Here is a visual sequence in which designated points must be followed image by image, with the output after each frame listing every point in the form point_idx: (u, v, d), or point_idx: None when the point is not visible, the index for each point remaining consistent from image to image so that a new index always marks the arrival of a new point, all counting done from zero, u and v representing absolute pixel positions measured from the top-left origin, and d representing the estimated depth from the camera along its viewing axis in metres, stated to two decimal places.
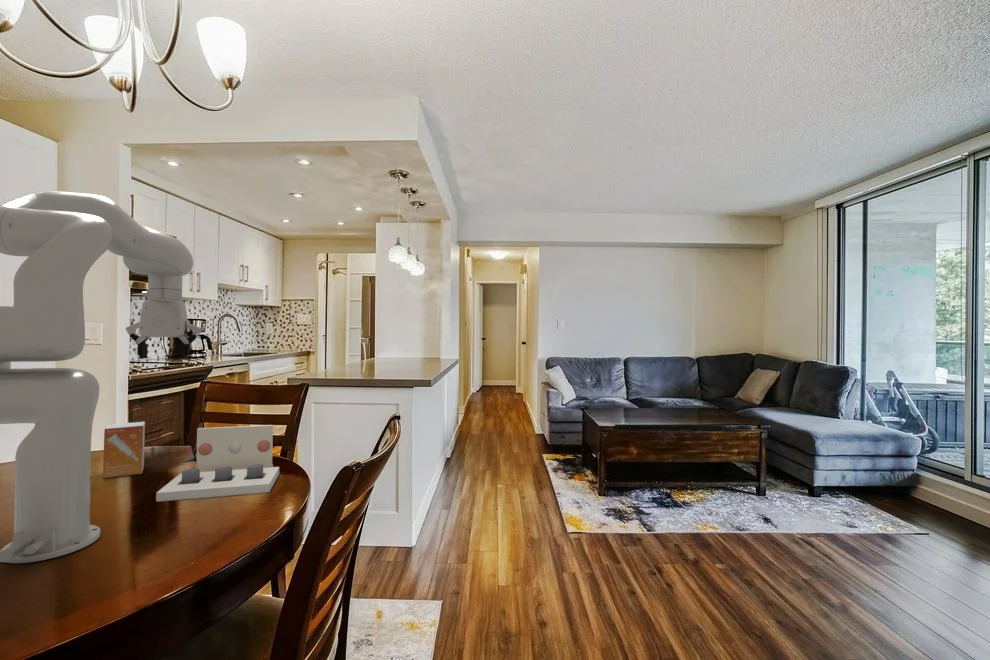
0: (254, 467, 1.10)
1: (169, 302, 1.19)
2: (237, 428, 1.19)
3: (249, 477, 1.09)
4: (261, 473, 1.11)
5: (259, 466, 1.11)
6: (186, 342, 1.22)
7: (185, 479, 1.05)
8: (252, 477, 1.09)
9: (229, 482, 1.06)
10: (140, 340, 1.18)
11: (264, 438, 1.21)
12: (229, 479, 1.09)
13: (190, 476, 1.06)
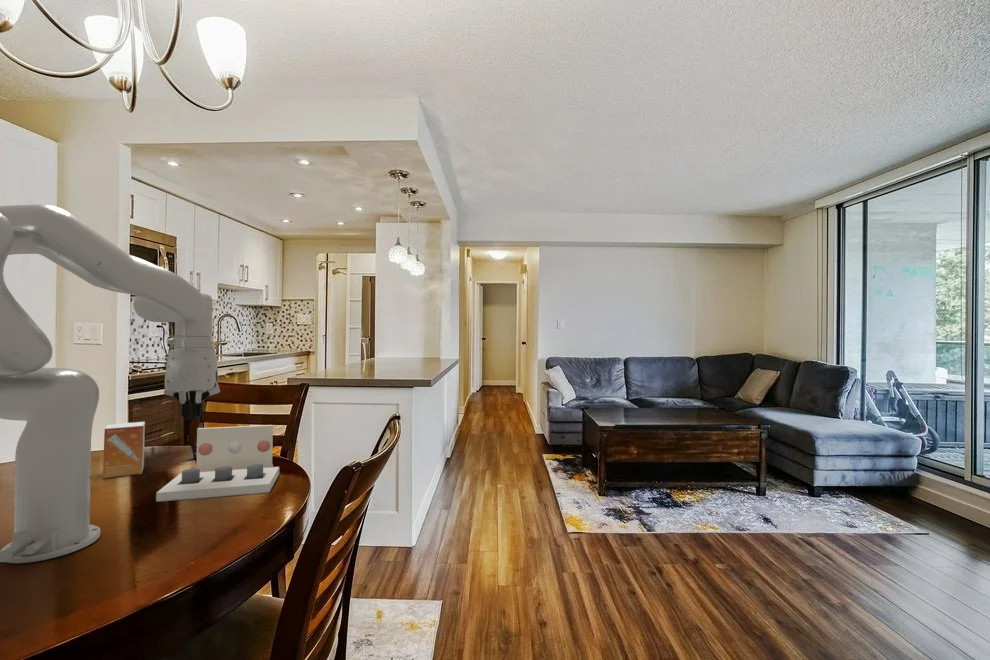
0: (254, 467, 1.10)
1: (198, 351, 1.05)
2: (237, 428, 1.19)
3: (249, 477, 1.09)
4: (261, 473, 1.11)
5: (259, 466, 1.11)
6: (198, 401, 1.06)
7: (185, 479, 1.05)
8: (252, 477, 1.09)
9: (229, 482, 1.06)
10: (183, 398, 1.05)
11: (264, 438, 1.21)
12: (229, 479, 1.09)
13: (190, 476, 1.06)
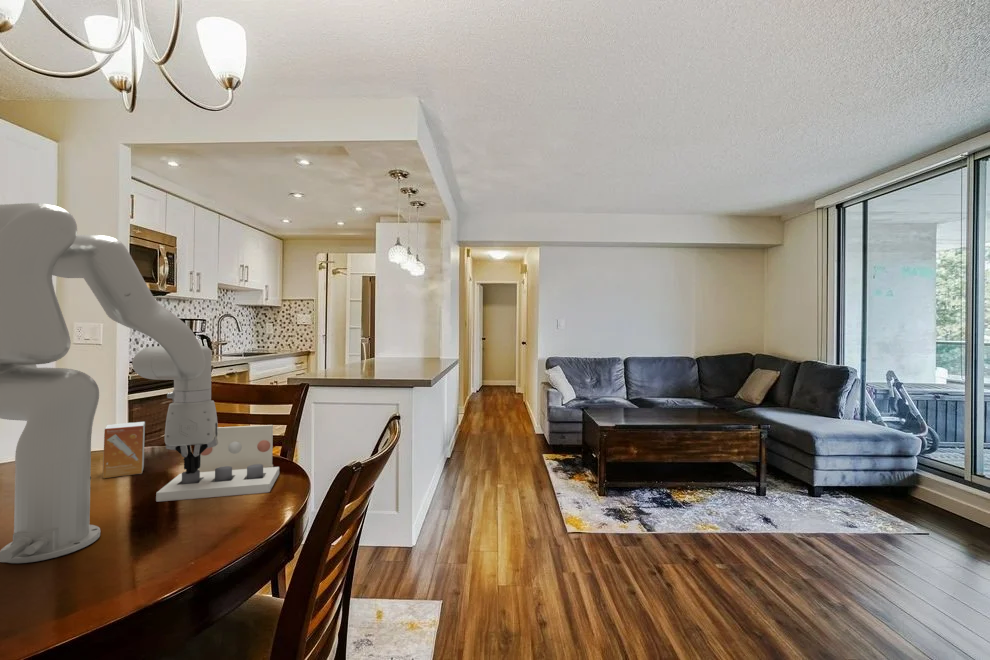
0: (254, 467, 1.10)
1: (198, 405, 1.05)
2: (237, 428, 1.19)
3: (249, 477, 1.09)
4: (261, 473, 1.11)
5: (259, 466, 1.11)
6: (195, 454, 1.07)
7: (185, 481, 1.05)
8: (252, 477, 1.09)
9: (229, 482, 1.06)
10: (185, 452, 1.06)
11: (264, 438, 1.21)
12: (229, 479, 1.09)
13: (190, 478, 1.06)
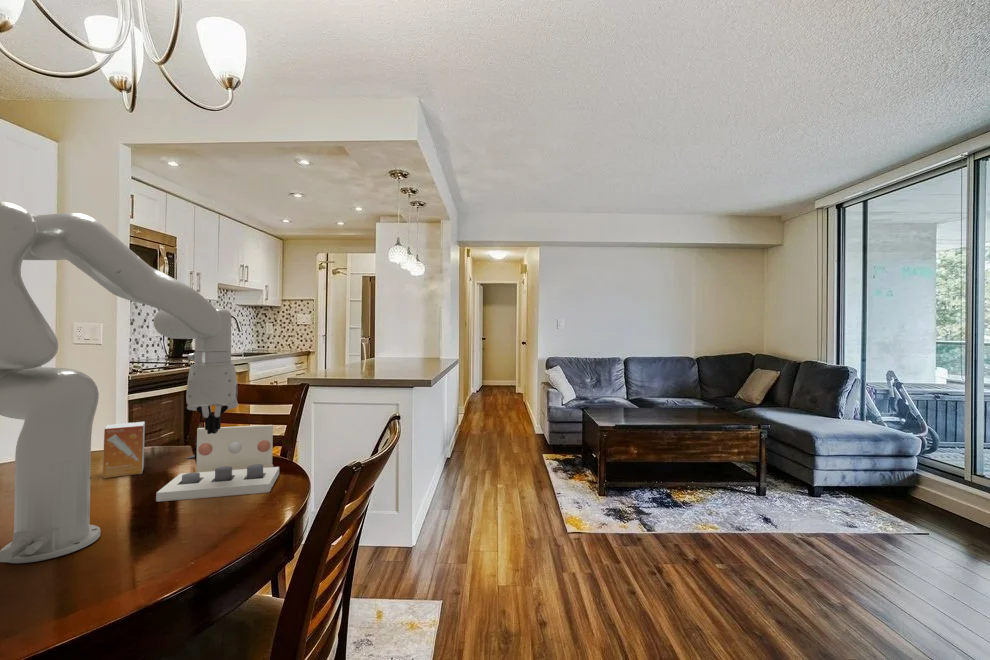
0: (254, 467, 1.10)
1: (219, 366, 1.07)
2: (237, 428, 1.19)
3: (249, 477, 1.09)
4: (261, 473, 1.11)
5: (259, 466, 1.11)
6: (216, 415, 1.08)
7: (185, 483, 1.05)
8: (252, 477, 1.09)
9: (229, 482, 1.06)
10: (206, 412, 1.07)
11: (264, 438, 1.21)
12: (229, 479, 1.09)
13: (190, 481, 1.06)
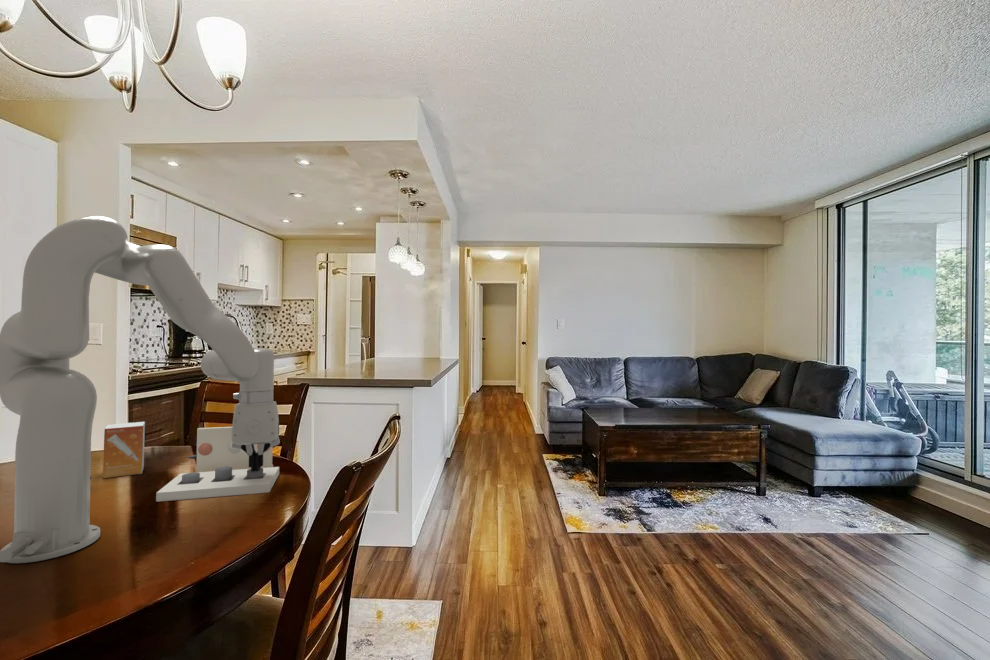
0: (254, 471, 1.10)
1: (263, 405, 1.09)
2: None
3: None
4: (261, 477, 1.11)
5: (259, 470, 1.11)
6: (260, 453, 1.11)
7: (185, 483, 1.05)
8: None
9: (229, 482, 1.06)
10: (250, 450, 1.10)
11: None
12: (229, 479, 1.09)
13: (190, 481, 1.06)
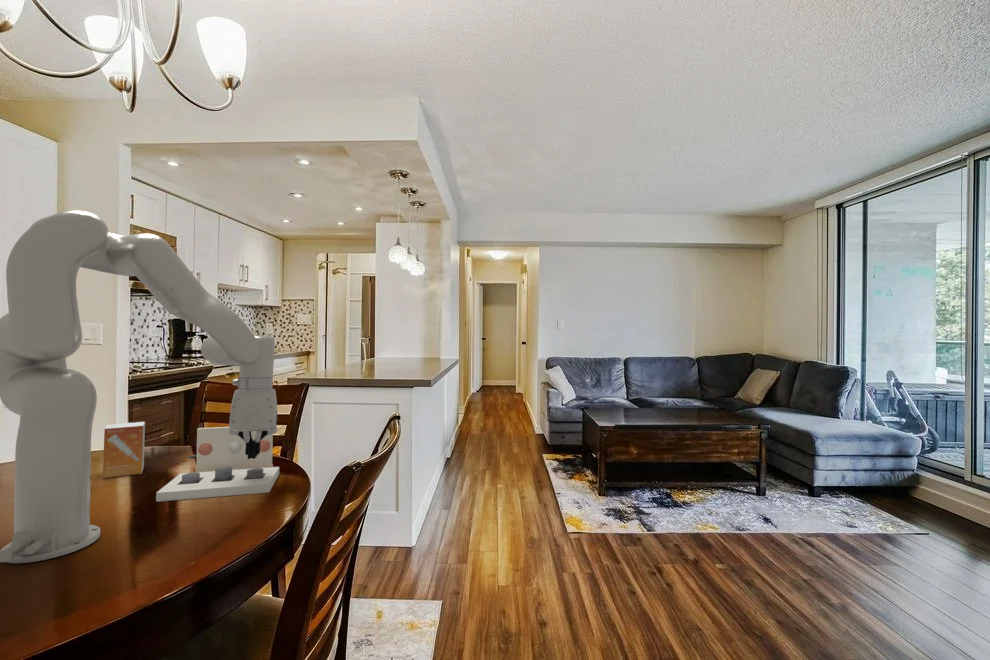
0: (254, 471, 1.10)
1: (261, 392, 1.09)
2: None
3: None
4: (261, 477, 1.11)
5: (259, 470, 1.11)
6: (257, 440, 1.10)
7: (185, 483, 1.05)
8: None
9: (229, 482, 1.06)
10: (247, 437, 1.09)
11: (264, 438, 1.21)
12: (229, 479, 1.09)
13: (190, 481, 1.06)
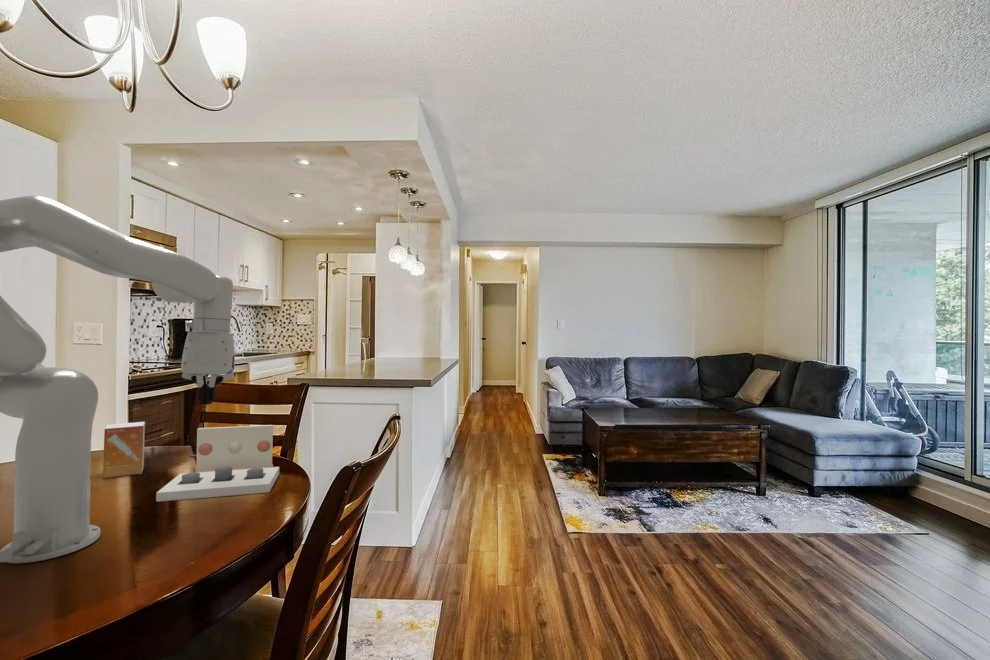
0: (254, 471, 1.10)
1: (216, 334, 1.04)
2: (237, 428, 1.19)
3: None
4: (261, 477, 1.11)
5: (259, 470, 1.11)
6: (211, 385, 1.04)
7: (185, 483, 1.05)
8: None
9: (229, 482, 1.06)
10: (200, 382, 1.03)
11: (264, 438, 1.21)
12: (229, 479, 1.09)
13: (190, 481, 1.06)
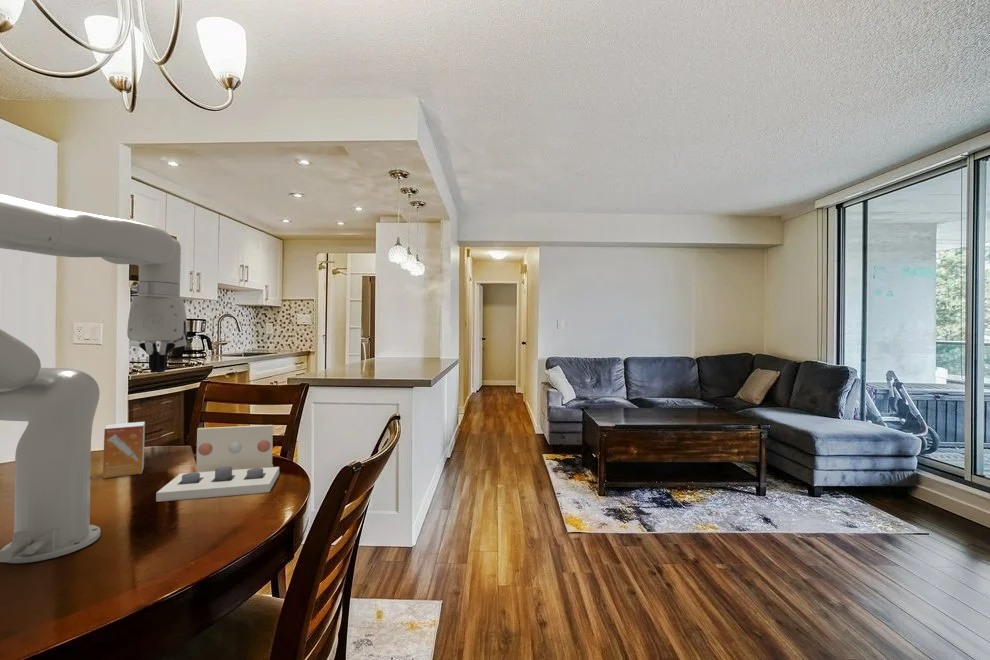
0: (254, 471, 1.10)
1: (164, 298, 0.98)
2: (237, 428, 1.19)
3: None
4: (261, 477, 1.11)
5: (259, 470, 1.11)
6: (161, 352, 0.99)
7: (185, 483, 1.05)
8: None
9: (229, 482, 1.06)
10: (150, 349, 0.98)
11: (264, 438, 1.21)
12: (229, 479, 1.09)
13: (190, 481, 1.06)
